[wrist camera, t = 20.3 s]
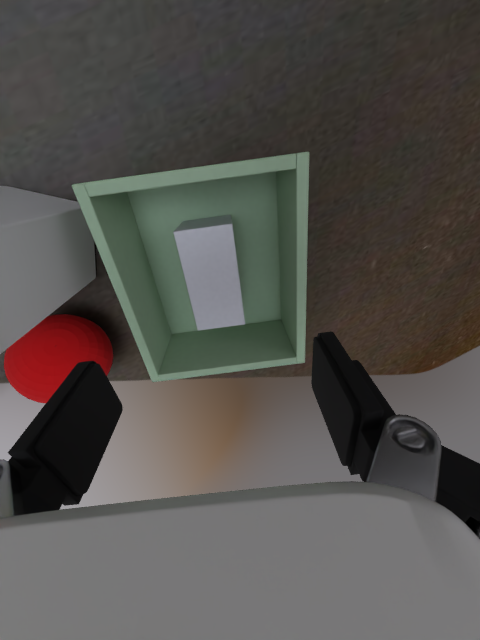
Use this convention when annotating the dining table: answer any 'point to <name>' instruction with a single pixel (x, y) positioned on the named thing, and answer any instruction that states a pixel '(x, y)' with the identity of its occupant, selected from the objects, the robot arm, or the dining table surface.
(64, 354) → the ornament
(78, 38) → the dining table surface
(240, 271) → the open box
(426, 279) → the dining table surface
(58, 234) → the milk carton
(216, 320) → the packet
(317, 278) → the dining table surface
